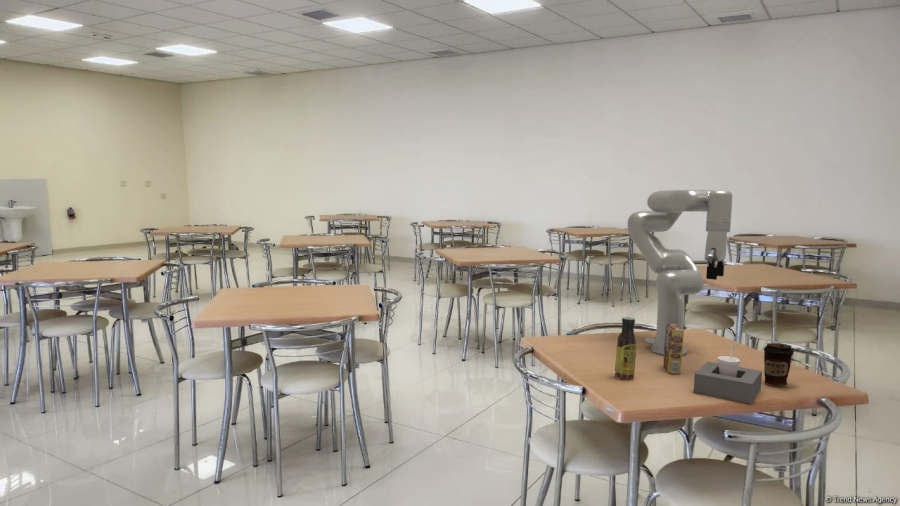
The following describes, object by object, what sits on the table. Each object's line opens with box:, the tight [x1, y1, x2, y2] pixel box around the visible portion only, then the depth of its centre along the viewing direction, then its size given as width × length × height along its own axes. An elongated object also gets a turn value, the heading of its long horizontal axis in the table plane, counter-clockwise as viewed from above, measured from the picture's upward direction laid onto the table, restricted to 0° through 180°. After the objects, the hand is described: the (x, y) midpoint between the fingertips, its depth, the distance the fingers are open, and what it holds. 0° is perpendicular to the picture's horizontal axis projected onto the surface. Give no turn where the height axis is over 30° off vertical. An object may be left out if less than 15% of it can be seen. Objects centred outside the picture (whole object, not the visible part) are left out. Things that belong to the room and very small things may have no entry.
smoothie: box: [717, 344, 741, 377], centre depth 184 cm, size 6×6×14 cm
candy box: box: [662, 324, 685, 375], centre depth 205 cm, size 9×4×15 cm, turn 172°
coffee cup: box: [763, 342, 794, 388], centre depth 191 cm, size 9×8×13 cm
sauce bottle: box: [614, 316, 638, 380], centre depth 196 cm, size 6×6×20 cm
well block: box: [693, 361, 763, 405], centre depth 185 cm, size 16×16×6 cm
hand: (714, 277), depth 203 cm, fingers open, 9 cm apart
